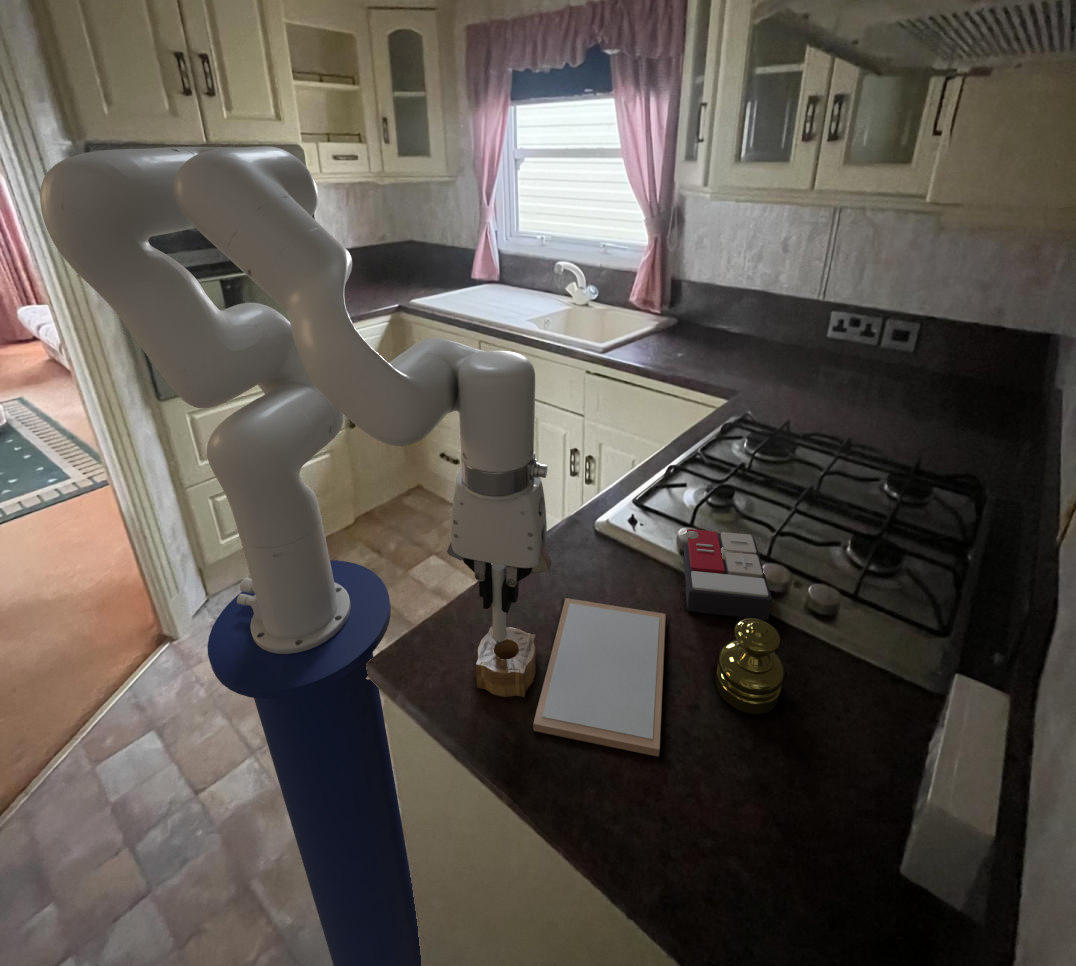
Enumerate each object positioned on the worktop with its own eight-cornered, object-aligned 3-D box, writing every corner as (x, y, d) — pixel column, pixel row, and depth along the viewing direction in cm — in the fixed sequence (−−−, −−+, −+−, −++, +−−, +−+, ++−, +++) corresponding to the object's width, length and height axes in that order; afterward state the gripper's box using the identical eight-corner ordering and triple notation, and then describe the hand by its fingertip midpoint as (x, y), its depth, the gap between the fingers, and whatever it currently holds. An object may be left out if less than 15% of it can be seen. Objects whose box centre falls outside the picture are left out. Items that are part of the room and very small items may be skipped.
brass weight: (702, 673, 74) (712, 612, 70) (752, 656, 76) (764, 597, 72) (739, 724, 68) (751, 661, 64) (792, 705, 70) (808, 642, 66)
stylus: (491, 646, 72) (489, 569, 67) (495, 636, 74) (493, 560, 69) (504, 649, 72) (503, 571, 67) (507, 638, 73) (507, 562, 68)
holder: (471, 690, 72) (469, 667, 71) (488, 645, 78) (487, 623, 77) (527, 701, 71) (527, 677, 69) (540, 655, 77) (540, 632, 75)
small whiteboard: (533, 730, 67) (533, 723, 67) (565, 604, 85) (565, 597, 85) (658, 757, 65) (659, 748, 64) (664, 620, 82) (665, 613, 82)
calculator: (754, 531, 94) (773, 595, 80) (751, 554, 95) (769, 620, 82) (683, 525, 96) (690, 586, 82) (681, 547, 97) (687, 611, 83)
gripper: (577, 460, 64) (570, 591, 72) (440, 442, 67) (447, 569, 75) (565, 500, 57) (558, 639, 65) (413, 477, 60) (424, 613, 68)
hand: (499, 601), depth 70 cm, fingers closed on stylus, 1 cm apart
